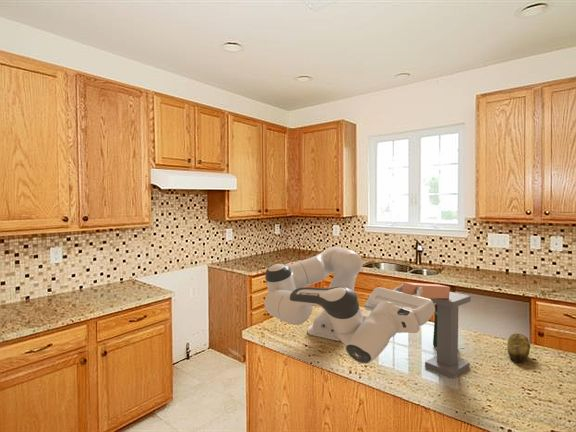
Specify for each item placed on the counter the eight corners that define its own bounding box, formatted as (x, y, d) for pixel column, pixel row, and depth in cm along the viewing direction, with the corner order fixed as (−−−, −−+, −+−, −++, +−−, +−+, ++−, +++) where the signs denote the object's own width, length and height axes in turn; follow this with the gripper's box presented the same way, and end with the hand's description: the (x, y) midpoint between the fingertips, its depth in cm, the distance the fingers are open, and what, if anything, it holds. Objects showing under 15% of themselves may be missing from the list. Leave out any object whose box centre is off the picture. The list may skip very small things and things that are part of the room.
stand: (452, 378, 112) (453, 302, 111) (424, 367, 120) (425, 295, 119) (469, 368, 119) (470, 295, 118) (442, 357, 127) (443, 290, 126)
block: (412, 297, 102) (414, 284, 102) (401, 294, 105) (402, 282, 105) (449, 298, 115) (450, 286, 115) (437, 296, 118) (439, 284, 118)
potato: (499, 358, 126) (499, 337, 126) (511, 349, 134) (511, 329, 134) (525, 366, 120) (525, 344, 119) (536, 356, 128) (536, 335, 128)
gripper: (364, 315, 108) (388, 288, 115) (422, 335, 91) (445, 302, 98) (358, 300, 106) (382, 273, 113) (416, 317, 89) (440, 285, 96)
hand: (412, 287), depth 105 cm, fingers closed on block, 4 cm apart
